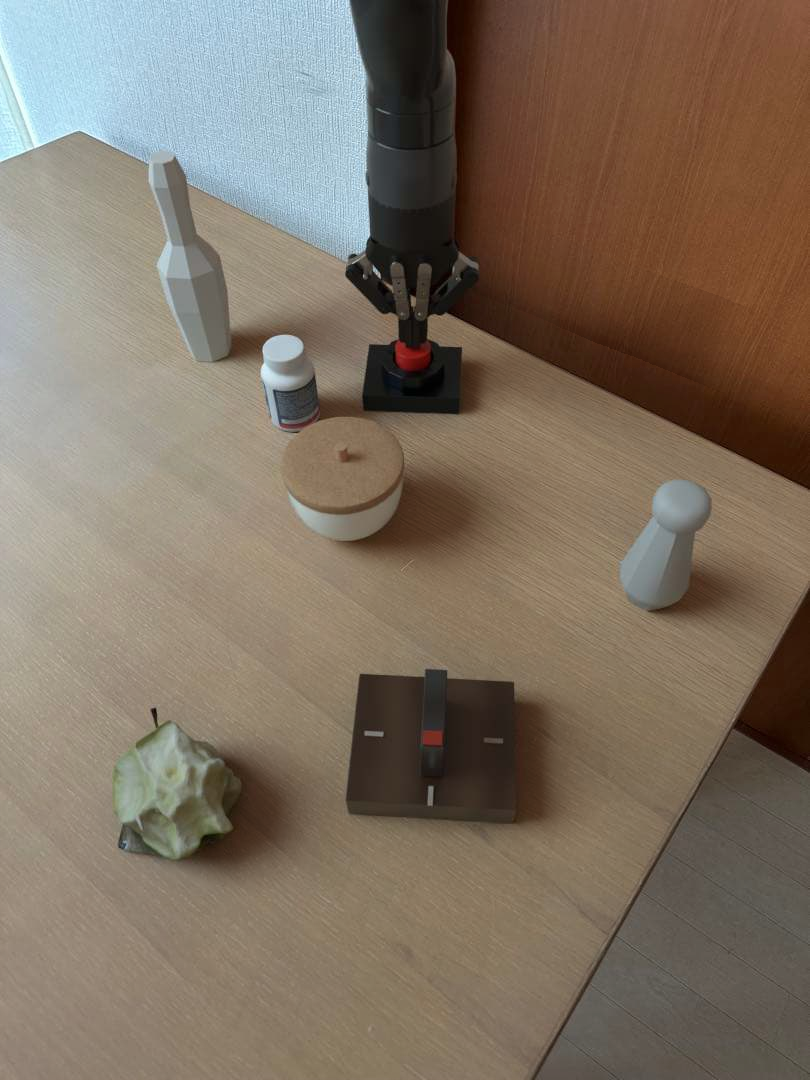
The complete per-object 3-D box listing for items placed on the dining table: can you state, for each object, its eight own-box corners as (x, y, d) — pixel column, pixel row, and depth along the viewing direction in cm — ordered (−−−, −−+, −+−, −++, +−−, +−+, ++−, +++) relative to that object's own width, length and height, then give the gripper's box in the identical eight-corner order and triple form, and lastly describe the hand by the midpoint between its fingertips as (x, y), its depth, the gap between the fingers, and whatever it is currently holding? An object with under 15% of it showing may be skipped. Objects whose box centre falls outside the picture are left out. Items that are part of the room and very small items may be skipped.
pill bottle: (331, 414, 86) (322, 346, 79) (293, 441, 84) (281, 374, 77) (296, 390, 88) (285, 322, 81) (259, 416, 86) (244, 348, 79)
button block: (461, 362, 91) (462, 333, 87) (459, 414, 86) (460, 385, 83) (370, 359, 91) (368, 330, 88) (363, 410, 86) (360, 381, 83)
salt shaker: (616, 559, 74) (648, 460, 64) (681, 569, 74) (724, 471, 63) (612, 613, 71) (645, 518, 61) (681, 624, 70) (726, 530, 60)
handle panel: (510, 697, 66) (514, 679, 64) (512, 825, 60) (516, 810, 58) (361, 689, 67) (359, 671, 65) (348, 815, 61) (345, 800, 58)
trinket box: (377, 458, 82) (372, 388, 75) (425, 536, 76) (425, 467, 69) (275, 495, 80) (260, 425, 72) (316, 578, 74) (304, 511, 66)
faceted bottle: (184, 371, 90) (127, 180, 73) (179, 335, 94) (125, 144, 77) (242, 362, 91) (200, 170, 74) (235, 326, 95) (194, 135, 77)
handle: (424, 699, 63) (425, 666, 59) (445, 701, 63) (447, 667, 59) (420, 776, 59) (420, 746, 55) (442, 777, 59) (444, 748, 55)
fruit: (139, 758, 65) (125, 696, 60) (257, 773, 65) (254, 712, 60) (97, 871, 58) (77, 812, 53) (228, 888, 58) (222, 831, 53)
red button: (431, 348, 87) (431, 335, 85) (429, 372, 84) (429, 358, 83) (397, 347, 87) (396, 334, 85) (394, 371, 85) (394, 357, 83)
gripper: (490, 159, 72) (479, 321, 86) (339, 156, 73) (352, 317, 87) (489, 207, 68) (478, 370, 81) (328, 203, 68) (344, 365, 82)
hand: (413, 343), depth 84 cm, fingers closed
